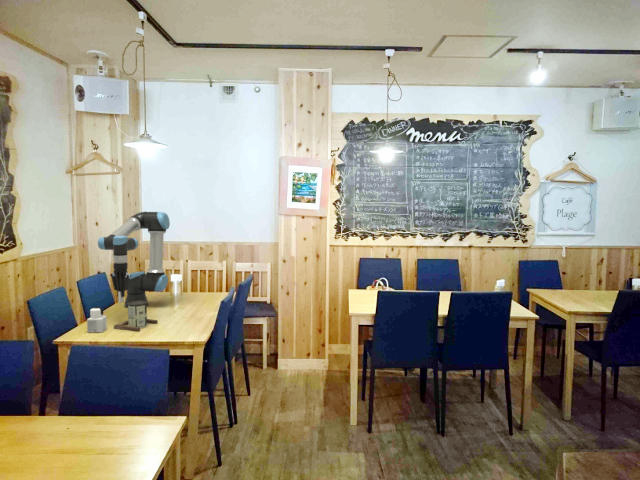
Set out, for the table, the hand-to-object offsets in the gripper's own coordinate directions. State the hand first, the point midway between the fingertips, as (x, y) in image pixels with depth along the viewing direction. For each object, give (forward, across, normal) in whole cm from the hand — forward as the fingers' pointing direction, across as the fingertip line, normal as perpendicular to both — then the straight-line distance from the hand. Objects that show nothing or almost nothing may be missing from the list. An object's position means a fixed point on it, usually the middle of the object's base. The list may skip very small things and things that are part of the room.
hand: (121, 302), depth 266 cm
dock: (+13, +11, 0) cm, 17 cm away
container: (+14, -4, -14) cm, 20 cm away
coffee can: (+14, +11, 0) cm, 17 cm away
